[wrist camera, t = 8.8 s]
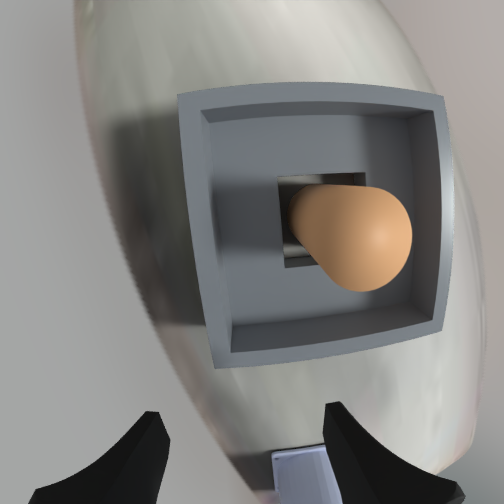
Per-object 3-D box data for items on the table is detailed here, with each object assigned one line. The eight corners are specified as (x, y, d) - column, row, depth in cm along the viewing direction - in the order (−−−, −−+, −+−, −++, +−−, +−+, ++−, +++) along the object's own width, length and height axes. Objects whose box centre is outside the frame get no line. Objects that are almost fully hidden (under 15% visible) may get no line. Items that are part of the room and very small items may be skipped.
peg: (348, 243, 18) (410, 283, 10) (289, 249, 18) (319, 298, 11) (345, 182, 17) (410, 185, 10) (284, 186, 17) (313, 190, 10)
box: (406, 301, 19) (441, 330, 15) (221, 326, 20) (214, 368, 15) (402, 111, 16) (443, 96, 11) (195, 116, 16) (177, 94, 11)
